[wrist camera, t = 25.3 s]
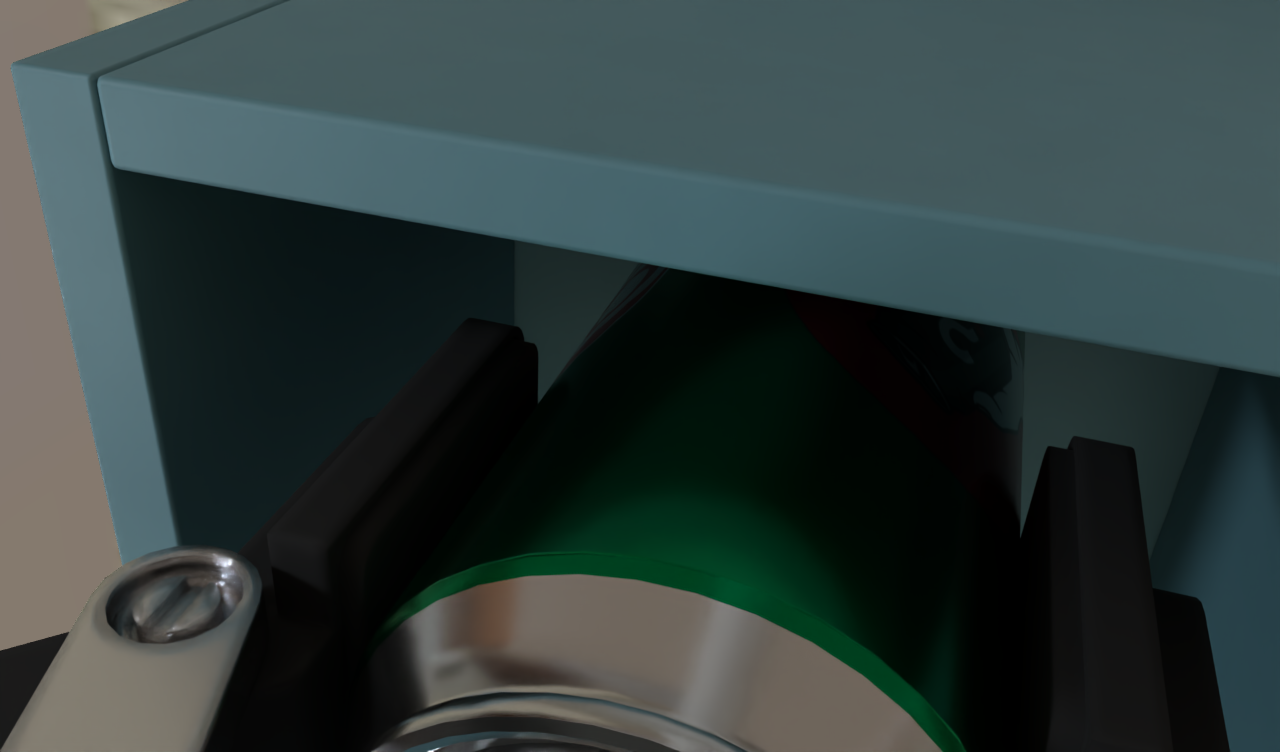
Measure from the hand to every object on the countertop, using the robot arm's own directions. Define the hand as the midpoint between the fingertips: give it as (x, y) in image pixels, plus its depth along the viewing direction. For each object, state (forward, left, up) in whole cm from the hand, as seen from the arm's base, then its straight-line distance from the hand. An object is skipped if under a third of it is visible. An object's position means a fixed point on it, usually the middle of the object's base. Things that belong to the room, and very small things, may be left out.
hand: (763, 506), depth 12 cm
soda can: (0, 0, -7) cm, 7 cm away
